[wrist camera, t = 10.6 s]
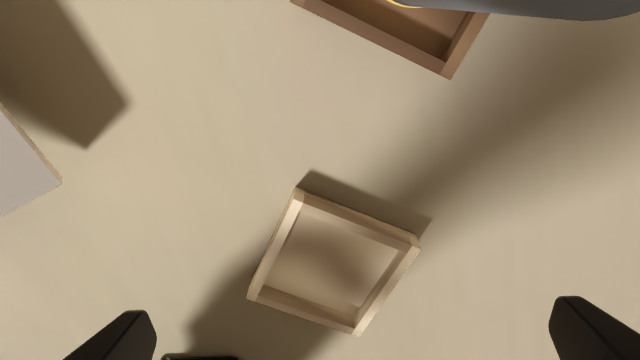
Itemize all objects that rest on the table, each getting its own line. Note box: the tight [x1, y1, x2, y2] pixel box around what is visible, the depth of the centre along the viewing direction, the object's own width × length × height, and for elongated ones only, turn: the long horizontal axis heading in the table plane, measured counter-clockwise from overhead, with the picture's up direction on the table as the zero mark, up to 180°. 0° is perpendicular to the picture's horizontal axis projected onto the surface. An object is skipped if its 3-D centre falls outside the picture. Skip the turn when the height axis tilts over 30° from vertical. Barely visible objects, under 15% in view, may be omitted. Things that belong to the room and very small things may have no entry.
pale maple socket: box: [246, 187, 421, 337], centre depth 23 cm, size 8×8×2 cm
